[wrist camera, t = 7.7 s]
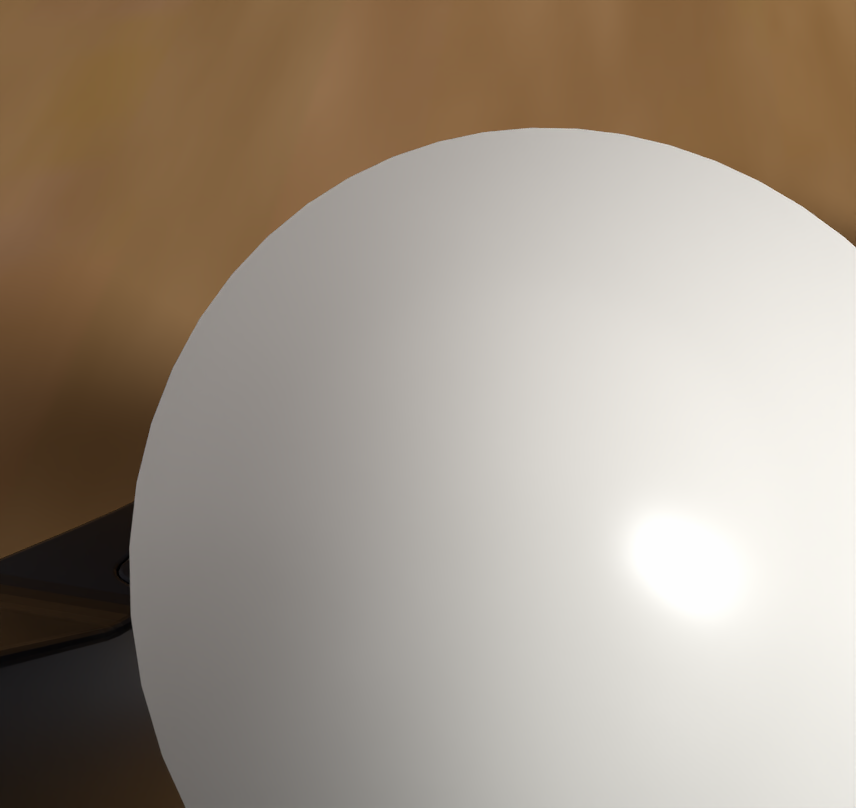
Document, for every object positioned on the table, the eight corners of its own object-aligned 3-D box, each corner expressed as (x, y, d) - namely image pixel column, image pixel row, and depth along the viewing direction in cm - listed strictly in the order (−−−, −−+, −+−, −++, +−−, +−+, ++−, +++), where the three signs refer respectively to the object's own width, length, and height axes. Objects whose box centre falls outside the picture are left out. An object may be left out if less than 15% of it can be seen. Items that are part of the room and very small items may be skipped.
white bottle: (397, 663, 14) (408, 1474, 2) (319, 501, 15) (-11, 312, 3) (548, 571, 15) (1246, 693, 3) (464, 425, 16) (691, 29, 4)
